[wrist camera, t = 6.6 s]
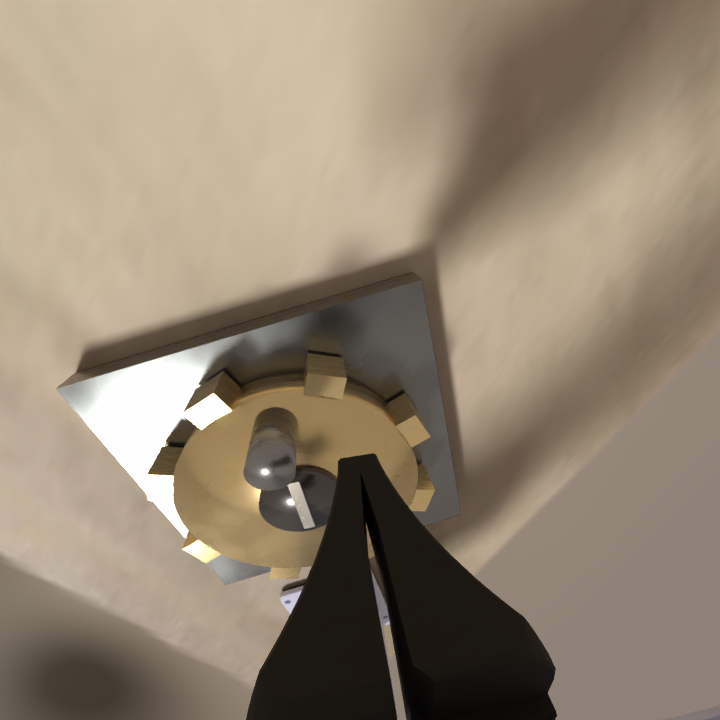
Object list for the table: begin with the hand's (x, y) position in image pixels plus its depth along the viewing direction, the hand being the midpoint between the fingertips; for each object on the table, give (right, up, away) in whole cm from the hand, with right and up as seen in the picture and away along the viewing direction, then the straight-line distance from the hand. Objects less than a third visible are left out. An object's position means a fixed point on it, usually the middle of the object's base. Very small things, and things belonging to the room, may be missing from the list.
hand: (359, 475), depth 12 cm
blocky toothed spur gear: (-3, -2, +8) cm, 9 cm away
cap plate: (-4, -1, +9) cm, 10 cm away
